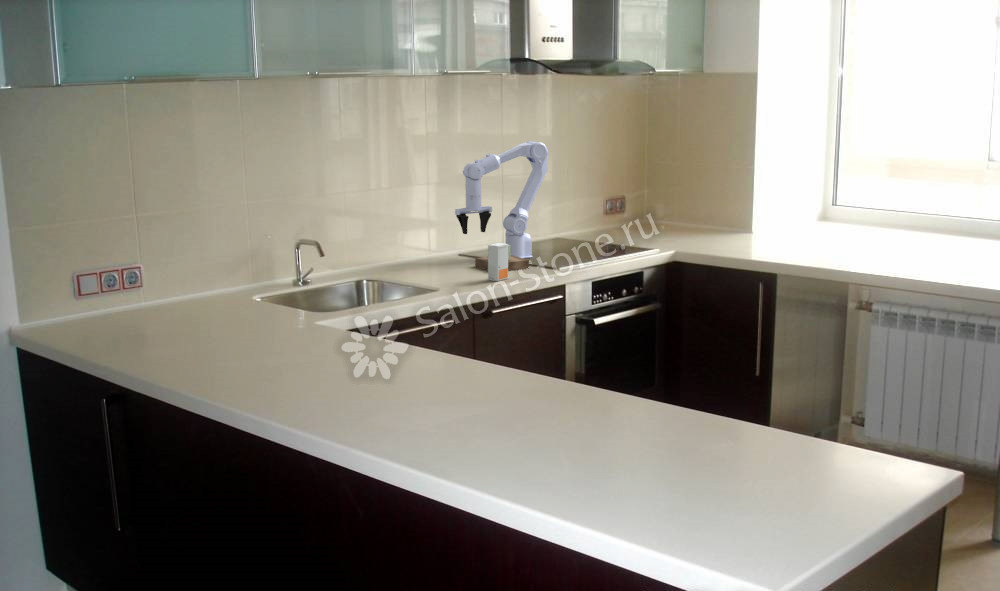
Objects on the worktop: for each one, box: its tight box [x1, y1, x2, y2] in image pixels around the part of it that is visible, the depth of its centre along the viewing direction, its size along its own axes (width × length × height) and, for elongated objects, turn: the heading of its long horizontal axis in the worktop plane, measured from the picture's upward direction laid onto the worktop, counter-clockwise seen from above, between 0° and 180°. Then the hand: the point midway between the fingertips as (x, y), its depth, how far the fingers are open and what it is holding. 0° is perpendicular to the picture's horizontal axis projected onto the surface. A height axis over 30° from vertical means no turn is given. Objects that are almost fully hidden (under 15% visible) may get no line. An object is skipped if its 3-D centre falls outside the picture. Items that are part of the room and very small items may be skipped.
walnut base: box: [474, 255, 530, 272], centre depth 356 cm, size 14×14×3 cm
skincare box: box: [487, 242, 509, 282], centre depth 334 cm, size 6×4×12 cm
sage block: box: [508, 245, 511, 260], centre depth 355 cm, size 4×4×5 cm
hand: (474, 232), depth 367 cm, fingers open, 7 cm apart
